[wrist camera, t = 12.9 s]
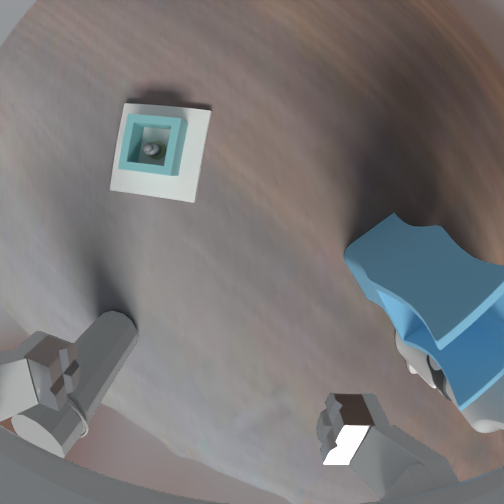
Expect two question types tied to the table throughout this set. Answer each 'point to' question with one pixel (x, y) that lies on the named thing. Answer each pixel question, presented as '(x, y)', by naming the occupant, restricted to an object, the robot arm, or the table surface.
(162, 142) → the post stand
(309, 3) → the table surface
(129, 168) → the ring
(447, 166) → the table surface
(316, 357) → the table surface
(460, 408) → the vase
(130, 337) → the water bottle
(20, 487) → the robot arm
